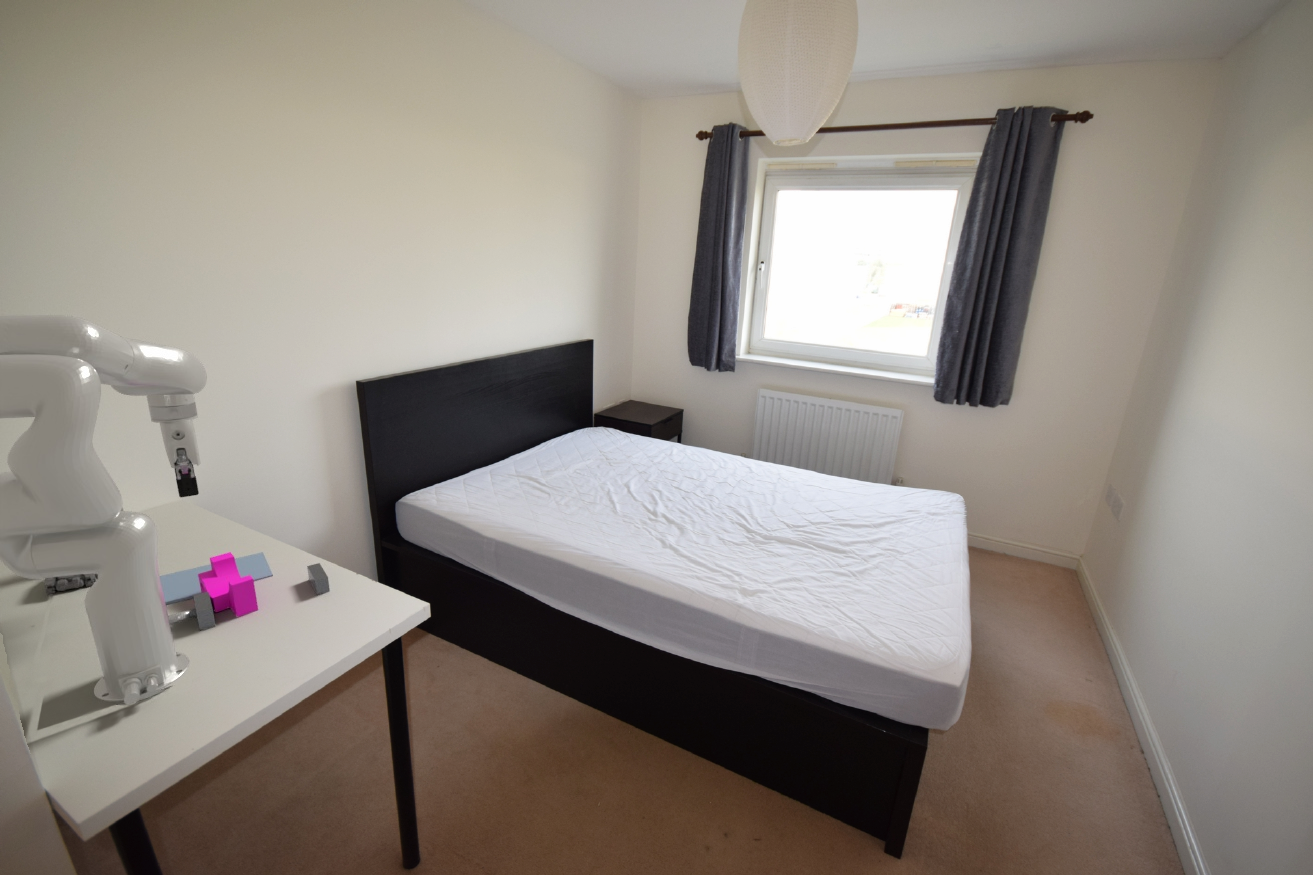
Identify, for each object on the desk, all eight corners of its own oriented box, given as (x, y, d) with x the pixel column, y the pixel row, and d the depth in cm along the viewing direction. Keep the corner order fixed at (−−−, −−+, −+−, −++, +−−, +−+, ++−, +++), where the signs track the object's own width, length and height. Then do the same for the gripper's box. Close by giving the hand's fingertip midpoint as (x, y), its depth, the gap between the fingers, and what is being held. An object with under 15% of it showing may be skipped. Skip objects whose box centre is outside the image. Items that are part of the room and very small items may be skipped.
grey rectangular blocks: (330, 592, 127) (328, 577, 126) (163, 641, 109) (159, 622, 108) (321, 578, 133) (319, 562, 132) (162, 621, 114) (158, 604, 113)
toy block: (201, 592, 124) (195, 561, 122) (235, 581, 129) (230, 551, 126) (222, 622, 115) (216, 590, 113) (258, 609, 120) (253, 578, 118)
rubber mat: (273, 577, 132) (272, 574, 132) (148, 609, 118) (147, 606, 118) (263, 554, 142) (262, 552, 142) (146, 581, 128) (146, 579, 128)
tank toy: (52, 575, 129) (46, 555, 128) (108, 565, 135) (104, 545, 134) (39, 600, 120) (33, 578, 119) (100, 587, 126) (95, 566, 124)
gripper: (199, 418, 114) (213, 497, 119) (194, 403, 127) (206, 475, 131) (150, 422, 110) (166, 505, 114) (149, 406, 122) (164, 481, 127)
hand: (188, 489), depth 123 cm, fingers open, 9 cm apart
